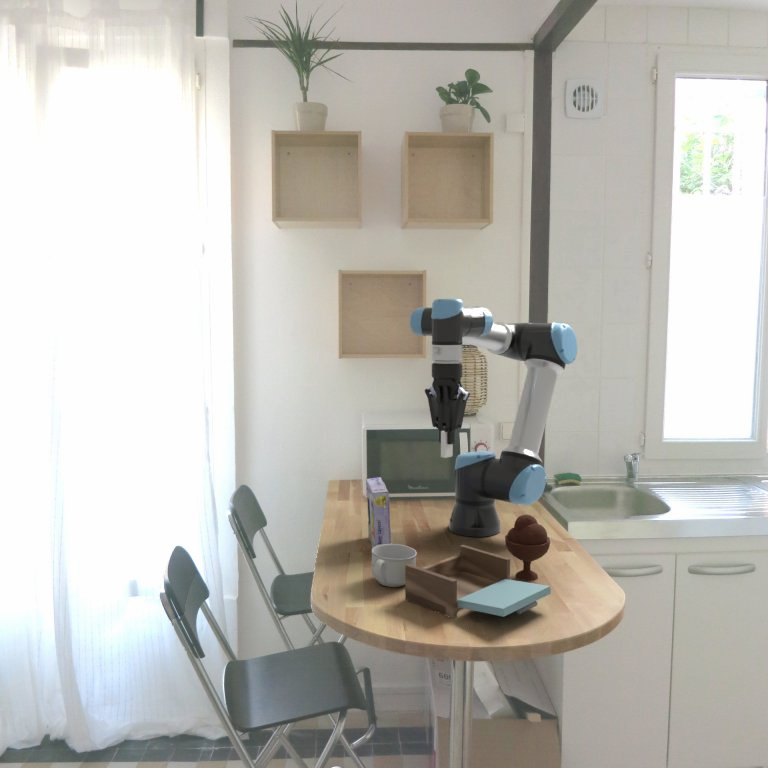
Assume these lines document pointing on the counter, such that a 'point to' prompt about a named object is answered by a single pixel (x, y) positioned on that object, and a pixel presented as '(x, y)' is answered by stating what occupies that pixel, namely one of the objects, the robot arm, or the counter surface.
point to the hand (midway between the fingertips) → (446, 456)
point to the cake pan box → (378, 512)
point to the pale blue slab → (505, 597)
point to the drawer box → (454, 579)
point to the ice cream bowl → (527, 544)
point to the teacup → (391, 563)
